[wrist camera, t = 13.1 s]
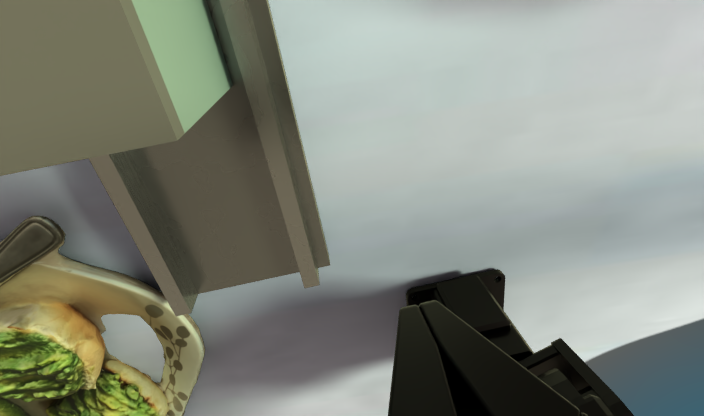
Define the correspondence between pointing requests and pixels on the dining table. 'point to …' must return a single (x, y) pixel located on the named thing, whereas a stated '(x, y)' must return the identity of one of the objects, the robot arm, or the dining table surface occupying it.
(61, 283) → the salad plate
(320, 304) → the dining table surface
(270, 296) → the dining table surface
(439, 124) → the dining table surface
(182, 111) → the module
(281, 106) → the rail
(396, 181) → the dining table surface
